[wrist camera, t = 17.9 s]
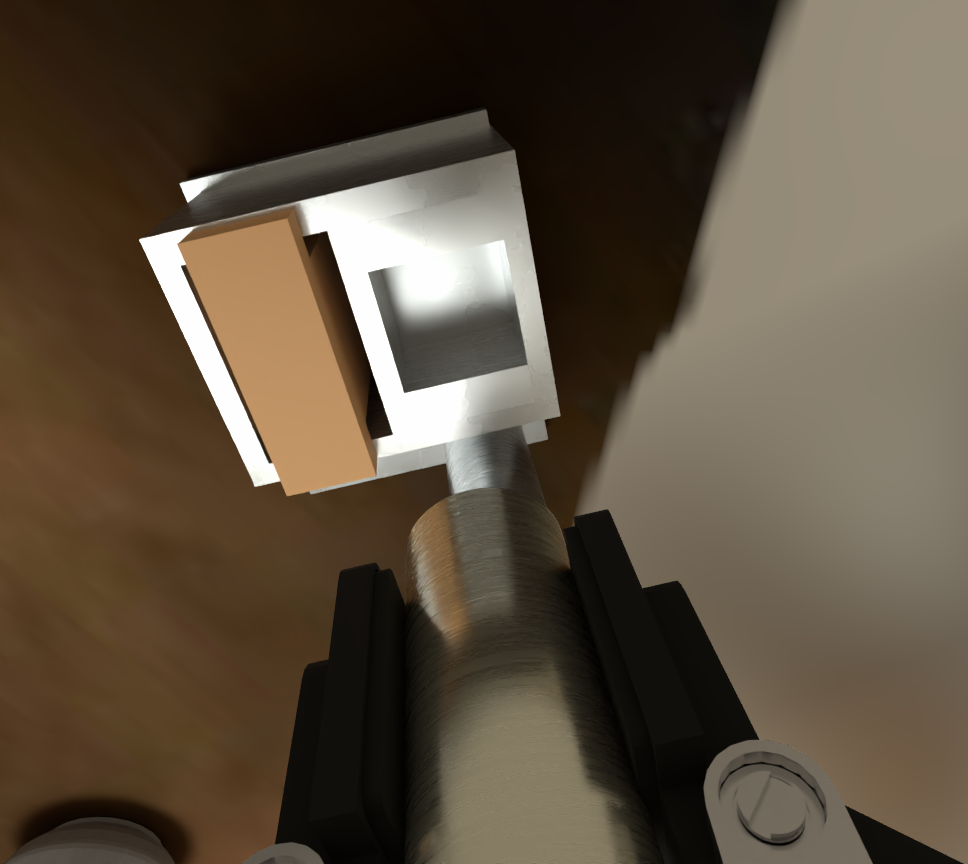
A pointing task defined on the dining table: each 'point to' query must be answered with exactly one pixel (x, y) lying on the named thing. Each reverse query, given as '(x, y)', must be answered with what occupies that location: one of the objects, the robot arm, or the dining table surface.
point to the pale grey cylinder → (508, 698)
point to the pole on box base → (400, 293)
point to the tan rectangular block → (289, 345)
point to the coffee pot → (94, 844)
